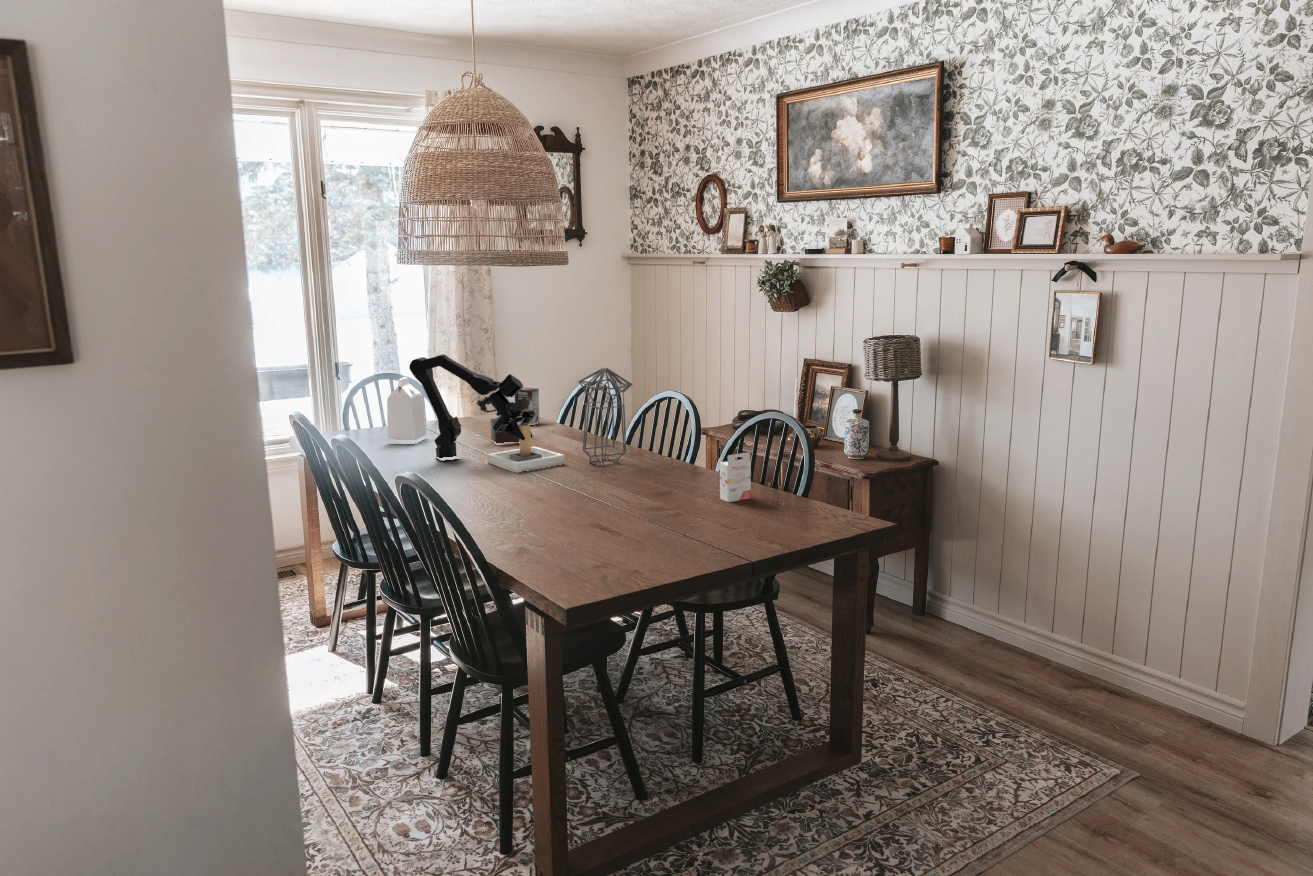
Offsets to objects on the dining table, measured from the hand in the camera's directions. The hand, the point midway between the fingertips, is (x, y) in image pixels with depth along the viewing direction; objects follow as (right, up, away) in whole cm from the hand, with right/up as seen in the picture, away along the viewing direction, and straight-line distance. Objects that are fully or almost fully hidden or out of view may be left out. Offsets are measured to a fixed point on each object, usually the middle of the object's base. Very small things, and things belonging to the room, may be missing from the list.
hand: (528, 438), depth 327 cm
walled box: (-1, -9, +3) cm, 10 cm away
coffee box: (-11, +6, +79) cm, 80 cm away
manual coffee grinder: (-17, -2, +40) cm, 43 cm away
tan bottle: (-1, -7, +2) cm, 7 cm away
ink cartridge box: (+70, -19, -46) cm, 86 cm away
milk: (-55, -1, +44) cm, 71 cm away
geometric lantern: (+28, -9, +2) cm, 30 cm away
